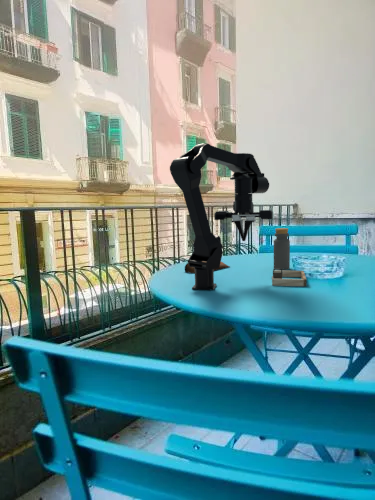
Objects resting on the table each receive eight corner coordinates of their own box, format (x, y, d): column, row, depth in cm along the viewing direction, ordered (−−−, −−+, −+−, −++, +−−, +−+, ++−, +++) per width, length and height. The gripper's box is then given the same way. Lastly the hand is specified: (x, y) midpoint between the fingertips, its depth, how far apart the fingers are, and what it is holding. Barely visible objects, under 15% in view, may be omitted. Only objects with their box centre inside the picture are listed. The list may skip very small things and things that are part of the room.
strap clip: (271, 278, 121) (271, 266, 121) (280, 278, 121) (280, 266, 120) (274, 284, 113) (274, 271, 112) (284, 284, 113) (284, 271, 112)
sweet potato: (201, 274, 129) (193, 257, 131) (189, 281, 134) (182, 265, 136) (231, 266, 142) (224, 251, 144) (219, 273, 147) (213, 259, 148)
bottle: (291, 269, 133) (291, 229, 131) (275, 270, 134) (275, 229, 131) (287, 266, 139) (287, 227, 137) (272, 267, 139) (272, 228, 137)
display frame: (306, 286, 108) (306, 279, 108) (272, 285, 110) (272, 279, 110) (303, 276, 121) (303, 270, 121) (272, 276, 123) (272, 270, 123)
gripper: (274, 192, 124) (274, 238, 126) (220, 194, 129) (221, 238, 131) (272, 192, 113) (271, 242, 115) (213, 194, 118) (214, 242, 120)
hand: (243, 241), depth 121 cm, fingers closed
